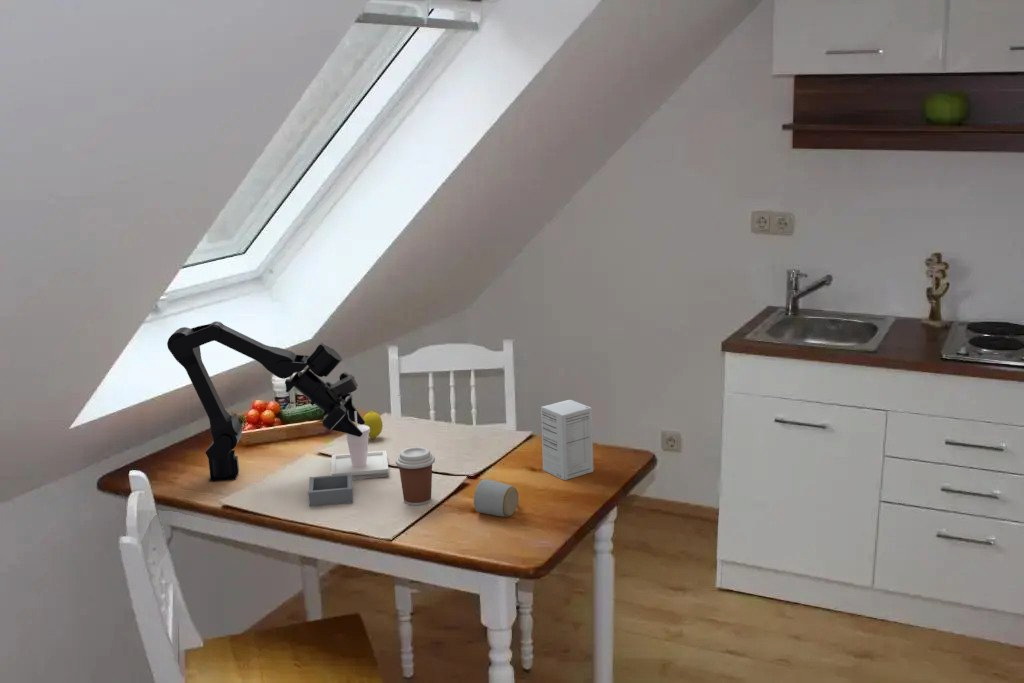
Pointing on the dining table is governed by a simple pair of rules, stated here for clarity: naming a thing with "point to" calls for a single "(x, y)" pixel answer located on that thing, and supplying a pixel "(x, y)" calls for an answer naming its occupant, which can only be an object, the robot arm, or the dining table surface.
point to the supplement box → (567, 439)
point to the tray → (373, 469)
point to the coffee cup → (416, 475)
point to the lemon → (373, 423)
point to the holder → (330, 490)
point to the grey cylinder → (495, 498)
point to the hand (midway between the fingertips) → (362, 429)
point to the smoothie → (358, 445)
